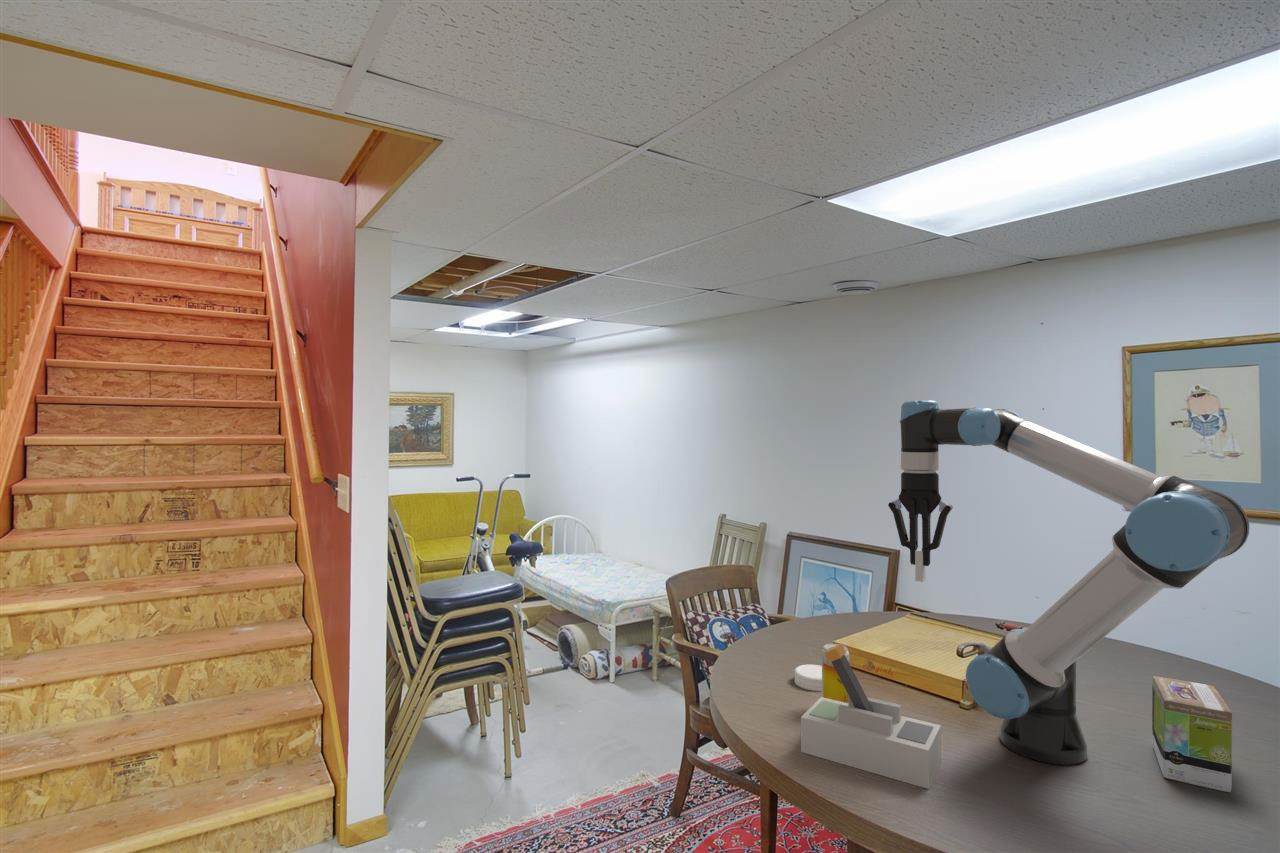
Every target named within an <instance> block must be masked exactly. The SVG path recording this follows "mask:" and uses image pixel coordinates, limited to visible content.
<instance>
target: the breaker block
mask: <svg viewBox="0 0 1280 853" xmlns="http://www.w3.org/2000/svg"><path fill="white" fill-rule="evenodd" d="M866 697H867V699H868V700H869V702H870V704H871V706H872V708H873V710H874V712H870V711H866V710H862V709H858V708H855V707H854V705H853V703H852V701H851V699H850V697H849V696H848V703H844V702H840V701H836V700H832V699H827V698H823V697H822V696H821V697H819V698H818V700H816V701H815V703H814V704H813V705H811V706H810V707H809V708H808V709H807V710H806V711H805V712H804V714H802V715H801V717H800V752H801V753H804V754H806V755H807V754H808V755H811V756H814V757H818V758H821V759H824V760H828V761H831V762H833V763H834V762H835V763H837V764H841V765H846V766H847V767H852V768H856V769H857V770H858V769H859V770H861V771H865V772H869V773H872V774H875V775H876V774H877V775H879V776H883V777H886V778H889V779H894V780H896V781H900V782H903V783H906V784H910V785H914V786H917V787H920V788H924V789H926V790H930V787H931V785H932V782H933V781H934V778H935V776H936V774H937V772H938V770H939V768H940V765H941V762H942V725H941V724H937V723H933V722H929V721H924V720H920V719H915V718H912V717H907V716H903V715H902V704H899V703H895V702H890V701H887V700H882V699H876V698H873V697H868V696H866Z"/></svg>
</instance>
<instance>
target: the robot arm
mask: <svg viewBox="0 0 1280 853" xmlns="http://www.w3.org/2000/svg"><path fill="white" fill-rule="evenodd" d="M900 409H901V410H900V420H899V424H900V443H901V445H900V446H901V447H900V469H901V470H903V472H902V473H900V494H898V498H897V499H896V500H893V501H891V502H889V503H888V504H887V506H888V508H889V509H890V511H891V512H892V515H893V517H894V523H895V526H896V529H897V533H898V538H899V540H900V546H902V547H904V548H905V547H906V548H907V549H909V552H910V553H909V559H910V560H909V562H910V565H911V566H912V565H913V566H914V568H915V569H914V570H915V571H914V573H915V576H914V577H915V578H914V579H915V580H914V581H915V582H921V583H922V582H925V580H926V567H929V566H930V564H931V551H932V550H937V549H938V548H939V547H940V545H941V542H942V538H943V534H944V530H945V527H946V523H947V522H946V521H947V517H948V515H949V514H950V513H951V511H952V510H953V505H952V504H947V503H946V502H945V501H943V500H942V497H941V495H940V491H939V490H940V489H939V488H940V486H939V482H940V481H939V480H940V478H939V474H938V472H936V471H938V470H939V464H940V463H939V447H940V446H941V445H944V446H945V445H949V446H950V445H952V446H953V445H954V446H955V445H956V446H973V447H976V446H977V447H978V446H980V447H981V446H990V445H991V446H993V447H995V448H998V449H1000V450H1003V451H1005V452H1007V453H1010V454H1012V455H1014V456H1016V457H1018V458H1020V459H1023V460H1024V461H1026V462H1029V463H1031V464H1033V465H1036V466H1037V467H1039V468H1041V469H1044V470H1045V471H1048V472H1050V473H1053V474H1054V475H1056V476H1059V477H1061V478H1063V479H1065V480H1067V481H1068V482H1069V481H1070V482H1072V483H1073V484H1076V485H1077V486H1080V487H1082V488H1084V489H1086V490H1089V491H1090V492H1093V493H1095V494H1096V495H1099V496H1101V497H1104V499H1108V500H1109V501H1111V502H1114V503H1116V504H1119V505H1121V506H1122V507H1125V508H1127V509H1129V510H1131V511H1130V512H1129V514H1128V517H1127V519H1126V522H1125V524H1124V525H1123V526H1122V527H1121V528H1120V529H1119V530H1117V532H1115V533H1114V534H1113V535H1112V537H1111V541H1112V548H1113V550H1112V551H1110V552H1109V553H1108V554H1107V555H1106V556H1105V557H1104V558H1103V559H1102V560H1100V561H1099V562H1098V563H1097V564H1096V565H1095V566H1094V567H1092V569H1091V570H1089V571H1088V572H1087V573H1086V574H1085V575H1084V576H1083V577H1082V578H1080V580H1079V581H1077V583H1075V584H1073V586H1072V587H1070V589H1069V590H1068V591H1067V592H1065V593H1064V594H1063V595H1062V596H1061V597H1060V598H1059V599H1058V600H1057V601H1055V602H1054V603H1053V604H1052V605H1051V606H1050V607H1049V608H1048V609H1047V610H1046V611H1045V612H1044V613H1043V614H1042V615H1040V616H1039V617H1038V618H1037V619H1036V620H1035V621H1034V622H1032V623H1031V624H1030V625H1029V626H1028V627H1027V628H1026V629H1024V628H1015V629H1011V630H1009V632H1008V633H1007V634H1005V636H1004V637H1003V638H1001V639H1000V640H999V641H998V642H997V643H996V644H995V645H994V646H993V647H992V648H990V649H989V650H988V651H987V652H986V653H984V654H979V655H976V656H975V657H974V658H973V659H971V661H970V662H969V663H968V665H967V667H966V670H965V679H966V683H967V684H966V685H967V689H968V691H969V693H970V695H971V697H972V699H973V700H974V702H975V703H976V704H977V705H978V706H979V707H980V708H981V710H983V711H984V712H986V713H988V714H989V715H991V716H993V717H994V718H995V717H996V718H999V719H1002V720H1001V723H1000V727H999V734H1000V735H999V739H1000V741H1001V743H1002V744H1003V745H1004V746H1005V747H1007V748H1008V749H1010V750H1011V751H1012V752H1014V753H1016V754H1019V755H1020V756H1023V757H1025V758H1028V759H1032V760H1034V761H1038V762H1042V763H1046V764H1053V765H1064V766H1065V765H1068V766H1069V765H1076V764H1082V763H1083V762H1085V761H1086V760H1087V758H1088V745H1087V742H1086V738H1085V736H1084V732H1083V730H1082V727H1081V724H1080V722H1079V719H1078V716H1077V661H1078V660H1079V658H1081V657H1083V655H1085V654H1086V653H1087V652H1088V651H1090V650H1091V649H1092V648H1093V647H1094V646H1095V645H1097V644H1098V643H1099V642H1100V641H1102V640H1103V639H1104V638H1105V637H1106V636H1107V635H1109V634H1110V633H1111V632H1112V631H1114V630H1115V629H1116V628H1117V627H1119V625H1121V624H1122V623H1123V622H1125V621H1126V620H1127V619H1128V618H1129V617H1131V616H1132V615H1134V613H1135V612H1136V611H1138V610H1139V609H1140V608H1142V607H1143V606H1144V605H1146V604H1147V603H1148V602H1149V601H1150V600H1151V599H1152V598H1153V597H1155V596H1156V595H1158V593H1159V592H1161V591H1162V590H1163V589H1175V590H1179V589H1183V588H1184V587H1185V586H1187V584H1188V583H1190V582H1191V581H1192V580H1193V579H1195V578H1196V577H1198V576H1199V575H1201V573H1203V572H1204V571H1205V570H1206V569H1207V568H1209V567H1210V566H1211V565H1212V564H1214V563H1215V562H1217V561H1218V560H1221V559H1223V558H1226V557H1228V556H1230V555H1232V554H1233V555H1234V553H1237V551H1239V550H1240V549H1241V548H1242V547H1243V546H1244V544H1246V542H1247V540H1248V537H1249V534H1250V522H1249V518H1248V515H1247V513H1246V511H1244V508H1243V507H1242V506H1241V505H1240V504H1239V503H1238V502H1236V500H1234V499H1233V498H1232V497H1230V496H1228V495H1226V494H1224V493H1223V492H1219V491H1217V490H1214V489H1211V488H1208V487H1205V486H1202V485H1200V484H1196V483H1195V482H1191V481H1189V480H1185V479H1183V478H1181V477H1179V476H1176V475H1174V474H1171V475H1170V474H1169V475H1166V476H1161V475H1158V474H1156V473H1154V472H1151V471H1149V470H1146V469H1144V468H1141V467H1138V466H1137V465H1135V464H1133V463H1129V462H1127V461H1124V460H1122V459H1120V458H1118V457H1115V456H1113V455H1110V454H1108V453H1106V452H1103V451H1101V450H1099V449H1096V448H1093V447H1091V446H1088V445H1087V444H1084V443H1082V442H1079V441H1076V440H1075V439H1072V438H1070V437H1067V436H1065V435H1062V434H1060V433H1058V432H1055V431H1054V430H1053V431H1052V430H1050V429H1047V428H1046V427H1043V426H1041V425H1039V424H1035V423H1034V422H1031V421H1028V420H1026V419H1024V418H1022V416H1021V415H1019V414H1018V413H1017V412H1016V411H1012V410H1008V409H1004V408H1003V409H1002V408H997V409H995V408H993V409H992V408H988V407H984V408H983V407H970V408H969V407H968V408H965V407H964V408H949V409H945V408H943V409H942V408H941V409H940V408H939V403H938V402H937V401H936V400H929V399H928V400H906V401H905V402H903V403H902V404H901V407H900ZM939 445H940V446H939ZM902 506H903V507H904V508H905V510H906V512H908V519H909V536H908V532H907V528H906V525H905V520H904V516H903V512H902V510H901V509H902ZM938 506H939V509H938V511H939V512H940V513H939V515H938V518H937V523H936V528H935V530H934V534H933V538H932V539H931V537H932V536H931V519H932V518H931V516H932V513H933V512H934V511H935V510H936V508H937V507H938ZM919 515H921V526H922V527H921V528H922V529H921V534H922V535H921V536H922V540H921V541H922V548H920V549H919V526H918V525H919V524H918V523H919V520H918V518H919ZM931 540H932V542H931Z"/></svg>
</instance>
